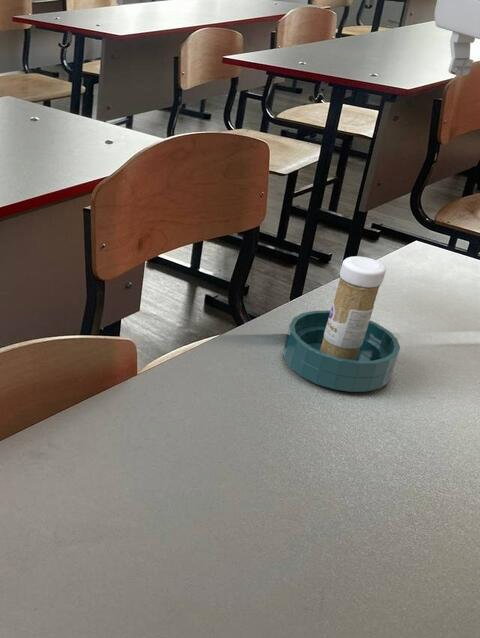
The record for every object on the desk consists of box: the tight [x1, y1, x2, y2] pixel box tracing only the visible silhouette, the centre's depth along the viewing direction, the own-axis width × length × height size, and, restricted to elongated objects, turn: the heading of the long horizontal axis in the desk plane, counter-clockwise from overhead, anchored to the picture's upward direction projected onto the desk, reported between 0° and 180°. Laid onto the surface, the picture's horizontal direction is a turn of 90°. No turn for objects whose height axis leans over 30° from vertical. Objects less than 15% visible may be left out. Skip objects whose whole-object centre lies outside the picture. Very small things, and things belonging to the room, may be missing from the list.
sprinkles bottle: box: [320, 255, 387, 360], centre depth 89 cm, size 5×5×14 cm
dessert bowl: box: [282, 309, 401, 393], centre depth 92 cm, size 12×12×4 cm
